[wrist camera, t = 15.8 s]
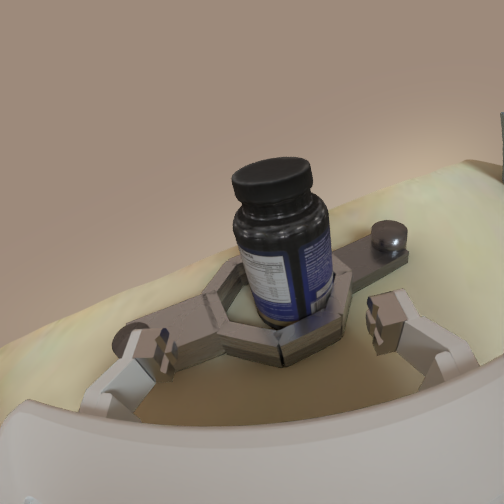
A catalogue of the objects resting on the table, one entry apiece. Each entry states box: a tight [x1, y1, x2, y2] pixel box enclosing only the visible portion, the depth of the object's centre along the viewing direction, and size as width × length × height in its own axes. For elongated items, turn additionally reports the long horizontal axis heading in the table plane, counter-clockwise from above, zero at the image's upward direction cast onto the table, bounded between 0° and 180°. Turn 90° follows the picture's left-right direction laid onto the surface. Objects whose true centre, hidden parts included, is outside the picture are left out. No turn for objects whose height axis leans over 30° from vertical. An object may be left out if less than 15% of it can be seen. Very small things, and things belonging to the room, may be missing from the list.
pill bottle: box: [232, 157, 333, 330], centre depth 19 cm, size 6×6×11 cm
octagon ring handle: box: [112, 220, 409, 372], centre depth 21 cm, size 26×11×3 cm, turn 111°
